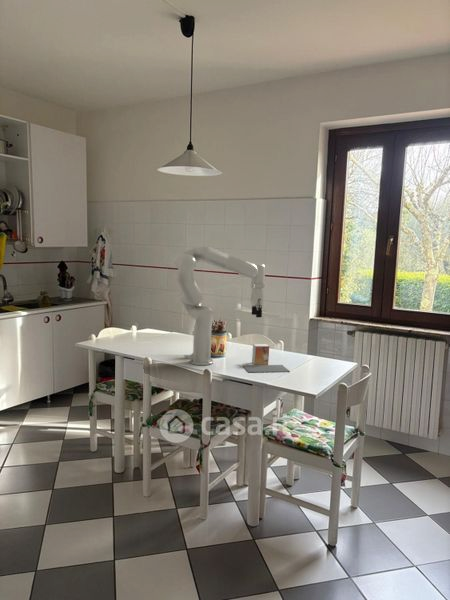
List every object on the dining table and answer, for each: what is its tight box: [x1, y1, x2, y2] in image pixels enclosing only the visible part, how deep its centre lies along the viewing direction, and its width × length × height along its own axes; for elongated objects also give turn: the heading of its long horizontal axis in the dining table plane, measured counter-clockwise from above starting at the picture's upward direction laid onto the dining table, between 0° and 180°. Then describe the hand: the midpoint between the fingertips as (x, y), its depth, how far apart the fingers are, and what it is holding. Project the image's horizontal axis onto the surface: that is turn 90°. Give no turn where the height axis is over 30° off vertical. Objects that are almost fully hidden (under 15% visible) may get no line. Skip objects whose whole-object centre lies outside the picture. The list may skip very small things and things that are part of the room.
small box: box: [251, 343, 270, 365], centre depth 245 cm, size 8×6×10 cm
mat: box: [242, 364, 291, 374], centre depth 235 cm, size 22×12×1 cm, turn 102°
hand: (256, 315), depth 254 cm, fingers open, 9 cm apart
